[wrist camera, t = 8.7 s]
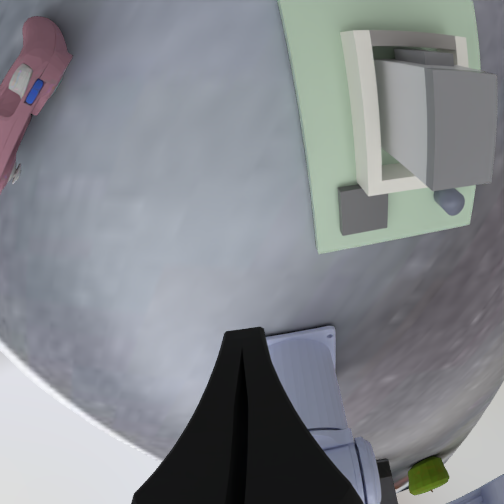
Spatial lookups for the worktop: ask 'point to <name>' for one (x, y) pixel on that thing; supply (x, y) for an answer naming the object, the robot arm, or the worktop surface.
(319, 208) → the board
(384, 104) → the plug
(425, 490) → the apple
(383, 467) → the electronic device
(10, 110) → the video game controller
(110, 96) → the worktop surface
